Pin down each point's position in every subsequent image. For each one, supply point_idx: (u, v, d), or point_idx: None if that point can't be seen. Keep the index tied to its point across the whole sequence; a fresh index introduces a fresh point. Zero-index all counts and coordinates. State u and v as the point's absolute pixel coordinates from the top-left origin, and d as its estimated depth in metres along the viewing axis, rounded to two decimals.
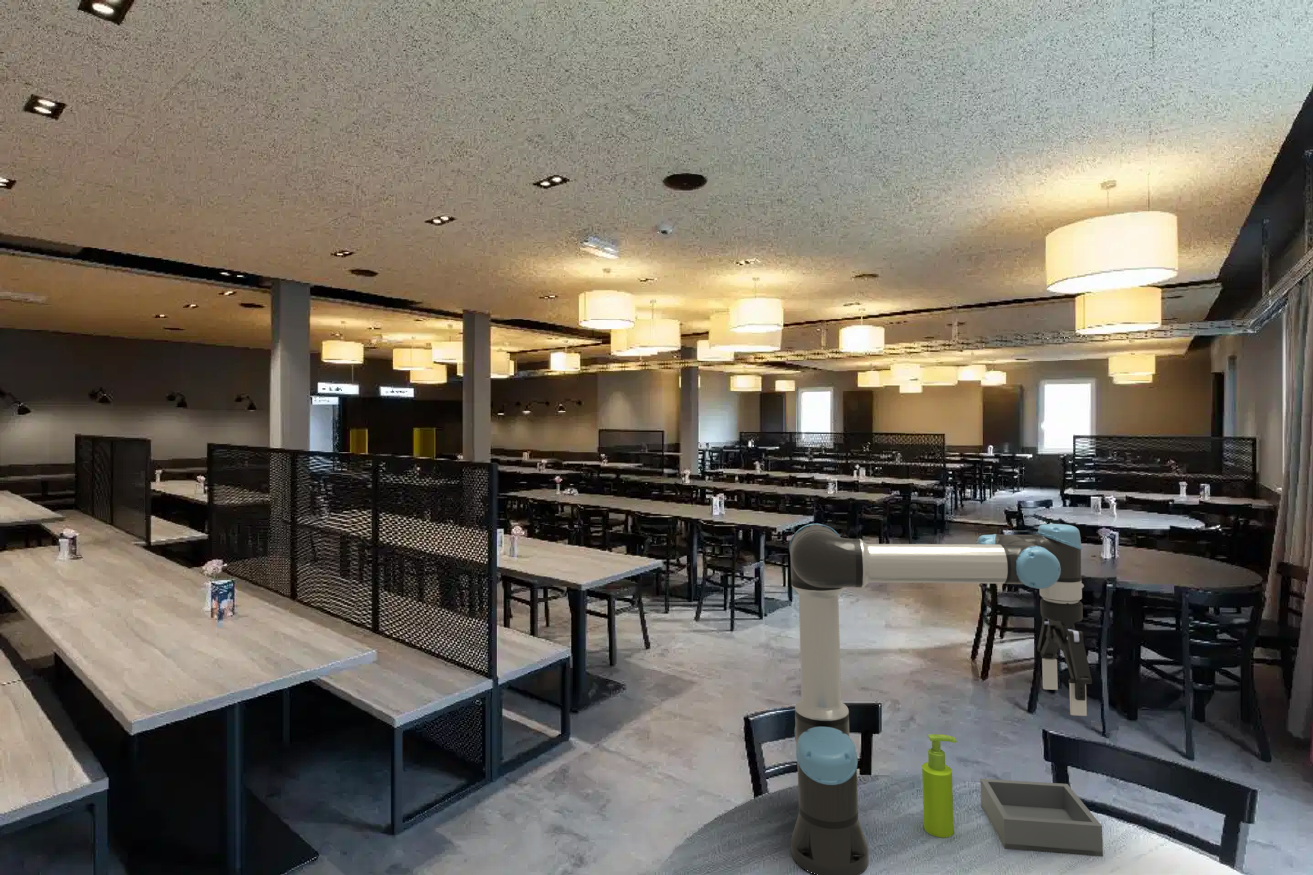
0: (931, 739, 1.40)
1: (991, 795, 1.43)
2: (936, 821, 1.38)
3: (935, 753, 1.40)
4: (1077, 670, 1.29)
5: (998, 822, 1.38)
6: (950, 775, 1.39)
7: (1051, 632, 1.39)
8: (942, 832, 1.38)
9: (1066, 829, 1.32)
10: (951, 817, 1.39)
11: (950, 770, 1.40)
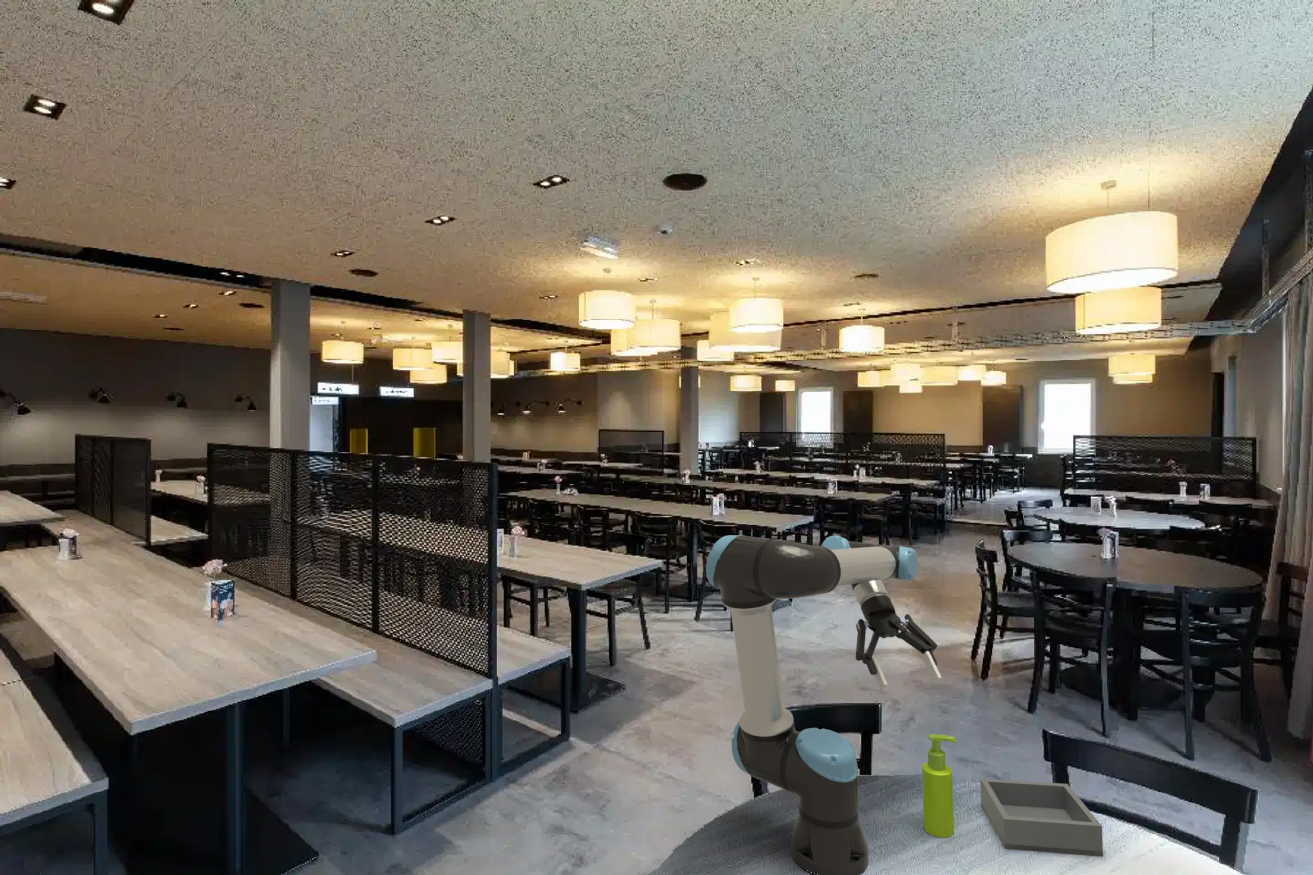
0: (931, 739, 1.40)
1: (991, 795, 1.43)
2: (936, 821, 1.38)
3: (935, 753, 1.40)
4: None
5: (998, 822, 1.38)
6: (950, 775, 1.39)
7: (883, 625, 1.59)
8: (942, 832, 1.38)
9: (1066, 829, 1.32)
10: (951, 817, 1.39)
11: (950, 770, 1.40)
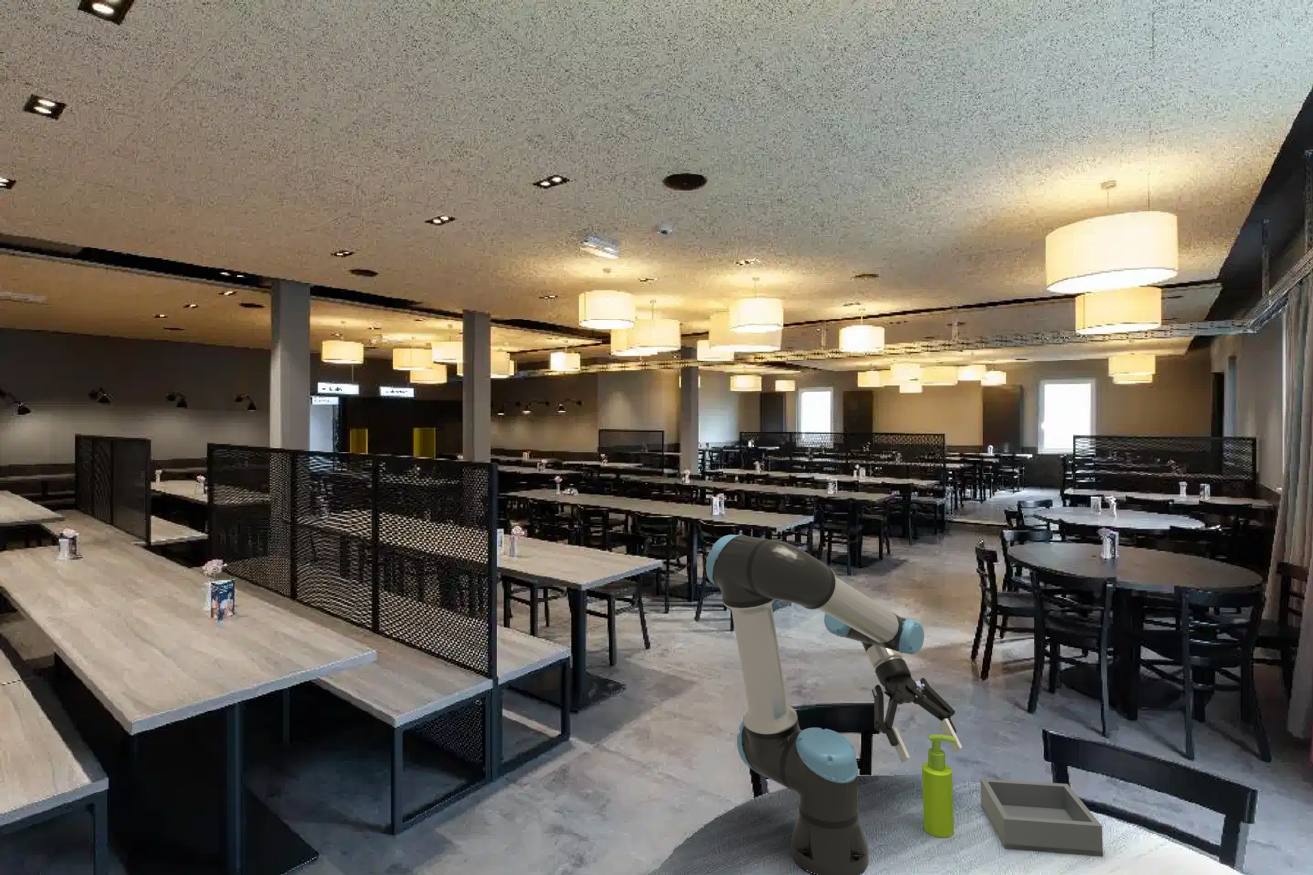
0: (931, 739, 1.40)
1: (991, 795, 1.43)
2: (936, 821, 1.38)
3: (935, 753, 1.40)
4: None
5: (998, 822, 1.38)
6: (950, 775, 1.39)
7: None
8: (942, 832, 1.38)
9: (1066, 829, 1.32)
10: (951, 817, 1.39)
11: (950, 770, 1.40)
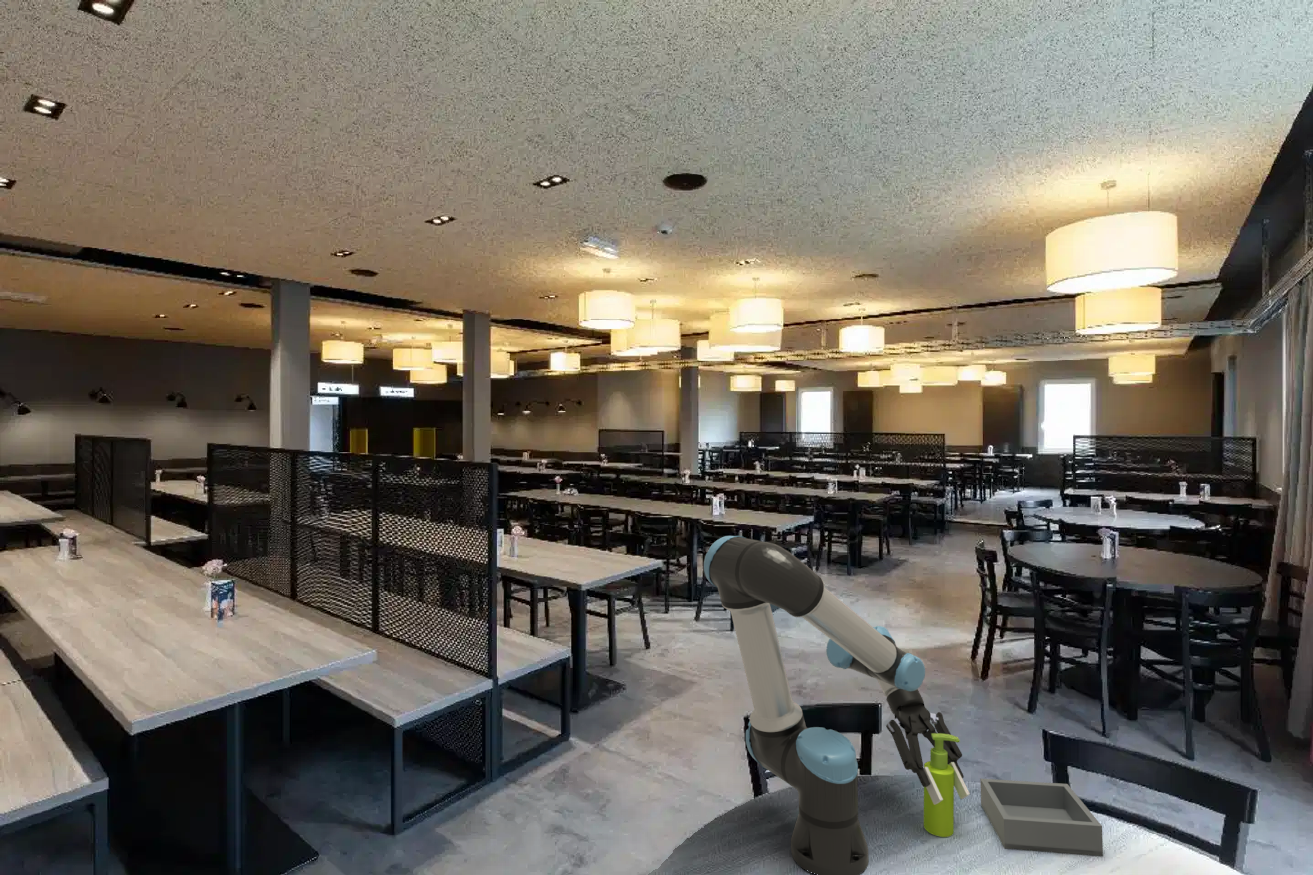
0: (934, 738, 1.40)
1: (991, 795, 1.43)
2: (937, 820, 1.38)
3: (938, 752, 1.40)
4: None
5: (998, 822, 1.38)
6: (952, 774, 1.39)
7: None
8: (942, 831, 1.38)
9: (1066, 829, 1.32)
10: (951, 817, 1.39)
11: (952, 770, 1.40)
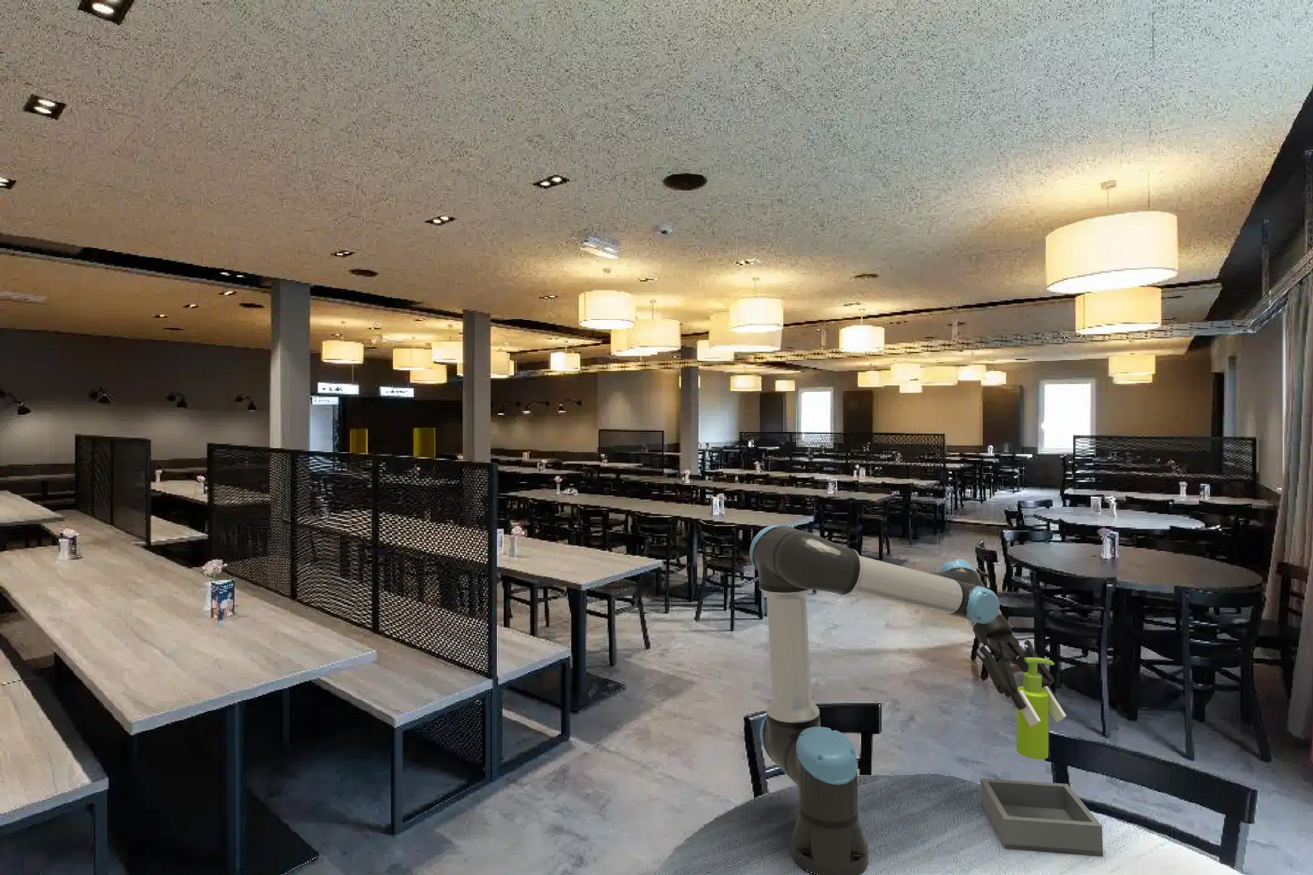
0: (1028, 661, 1.40)
1: (991, 795, 1.43)
2: (1032, 742, 1.38)
3: (1032, 675, 1.39)
4: None
5: (998, 822, 1.38)
6: (1047, 697, 1.38)
7: None
8: (1038, 754, 1.38)
9: (1066, 829, 1.32)
10: (1047, 739, 1.38)
11: (1047, 693, 1.39)
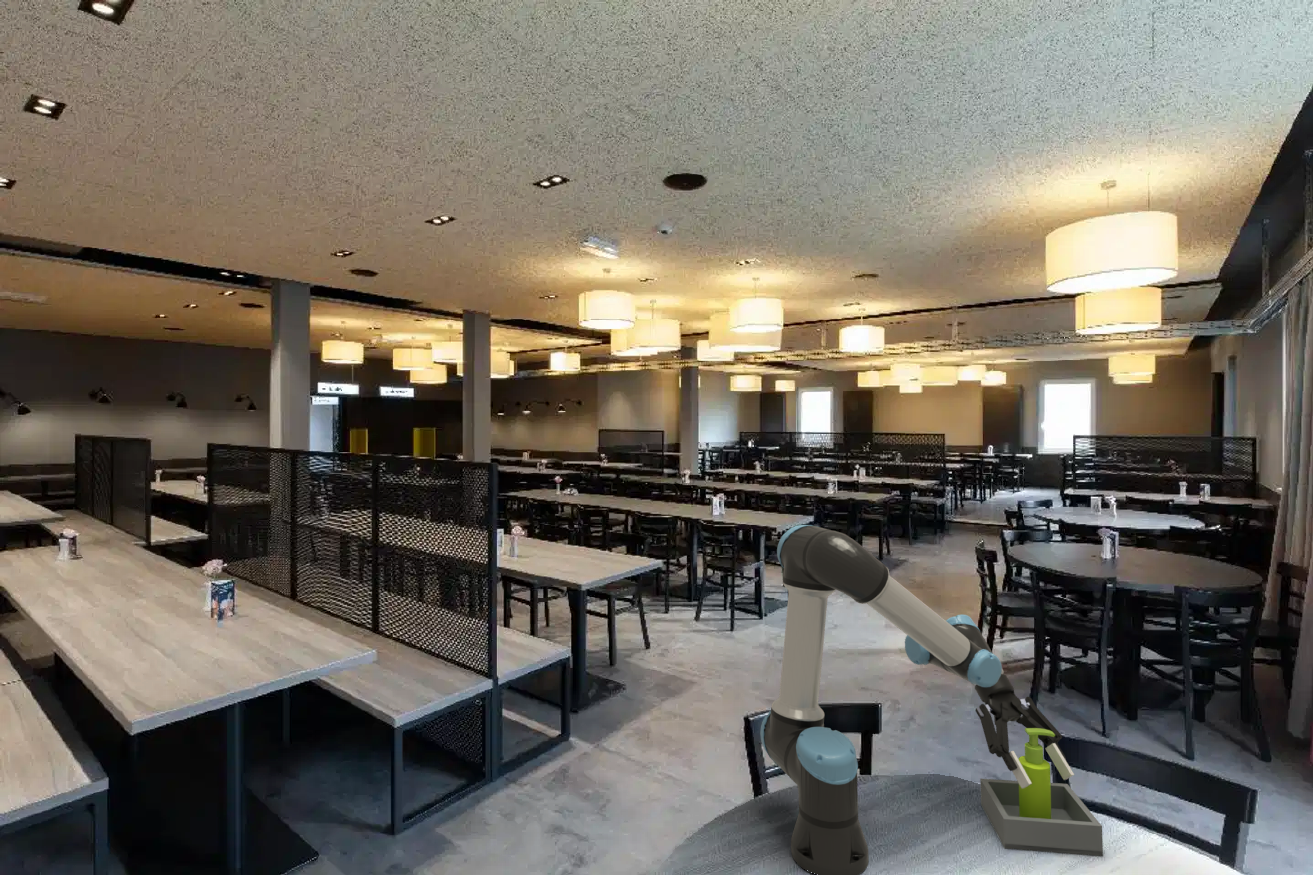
0: (1029, 733, 1.40)
1: (991, 795, 1.43)
2: (1035, 815, 1.38)
3: (1033, 747, 1.39)
4: None
5: (998, 822, 1.38)
6: (1049, 769, 1.38)
7: None
8: None
9: (1066, 829, 1.32)
10: (1049, 811, 1.38)
11: (1048, 764, 1.39)
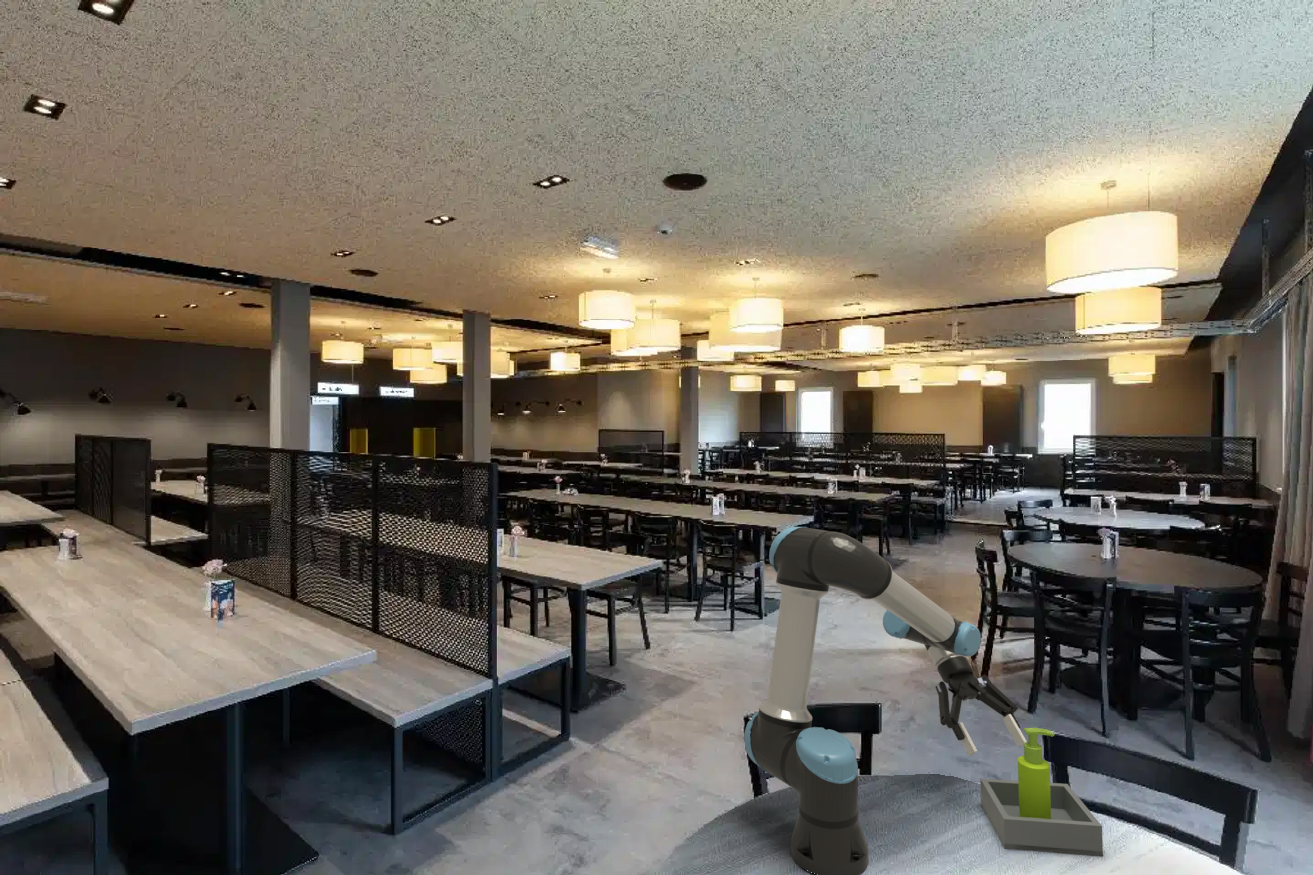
0: (1028, 733, 1.40)
1: (991, 795, 1.43)
2: (1035, 815, 1.38)
3: (1032, 747, 1.39)
4: None
5: (998, 822, 1.38)
6: (1048, 769, 1.38)
7: None
8: None
9: (1066, 829, 1.32)
10: (1049, 811, 1.38)
11: (1047, 764, 1.39)
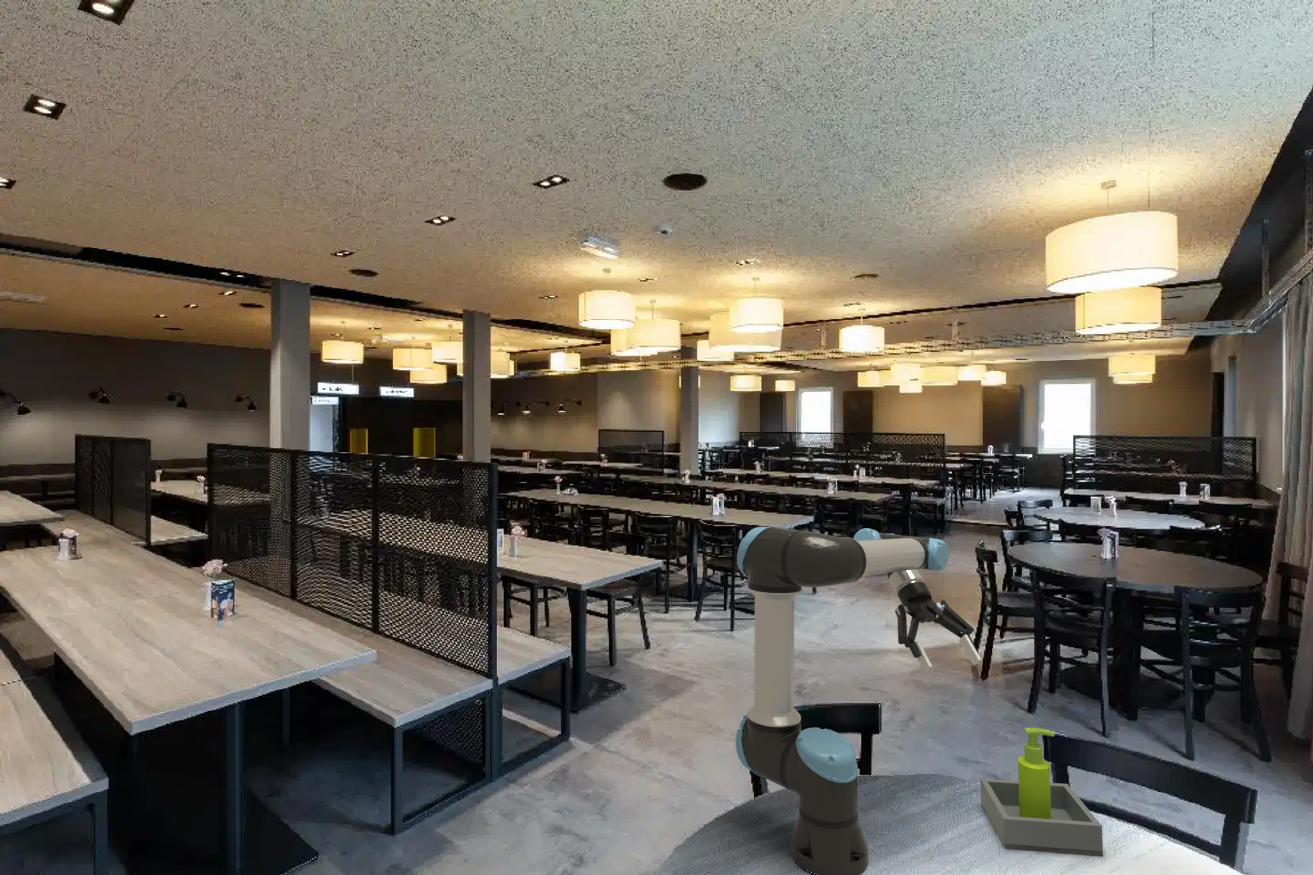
0: (1028, 733, 1.40)
1: (991, 795, 1.43)
2: (1035, 815, 1.38)
3: (1033, 747, 1.39)
4: None
5: (998, 822, 1.38)
6: (1048, 769, 1.38)
7: None
8: None
9: (1066, 829, 1.32)
10: (1049, 811, 1.38)
11: (1048, 764, 1.39)
